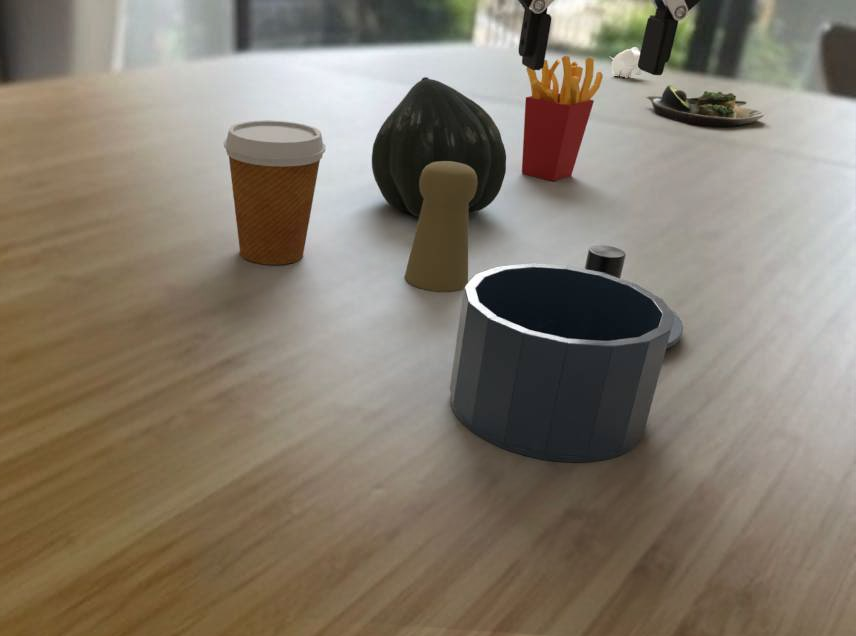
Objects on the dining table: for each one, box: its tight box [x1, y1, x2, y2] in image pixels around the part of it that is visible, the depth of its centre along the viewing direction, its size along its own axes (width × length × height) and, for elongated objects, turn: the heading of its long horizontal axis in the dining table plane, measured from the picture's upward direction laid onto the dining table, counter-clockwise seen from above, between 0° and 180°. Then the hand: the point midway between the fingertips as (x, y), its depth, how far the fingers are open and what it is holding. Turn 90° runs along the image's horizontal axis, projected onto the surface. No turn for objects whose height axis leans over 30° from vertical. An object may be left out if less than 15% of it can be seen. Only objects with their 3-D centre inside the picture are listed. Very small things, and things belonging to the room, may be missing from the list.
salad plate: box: [645, 84, 764, 128], centre depth 161 cm, size 19×18×5 cm
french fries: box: [521, 55, 603, 182], centre depth 119 cm, size 9×8×15 cm
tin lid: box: [584, 244, 684, 350], centre depth 77 cm, size 15×15×7 cm
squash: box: [371, 76, 507, 218], centre depth 102 cm, size 14×15×15 cm
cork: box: [404, 161, 478, 293], centre depth 83 cm, size 6×6×11 cm
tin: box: [449, 262, 675, 463], centre depth 63 cm, size 14×14×8 cm
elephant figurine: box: [609, 46, 644, 79], centre depth 193 cm, size 7×8×6 cm
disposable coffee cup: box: [223, 120, 327, 266], centre depth 87 cm, size 10×10×12 cm
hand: (590, 69), depth 71 cm, fingers open, 9 cm apart
